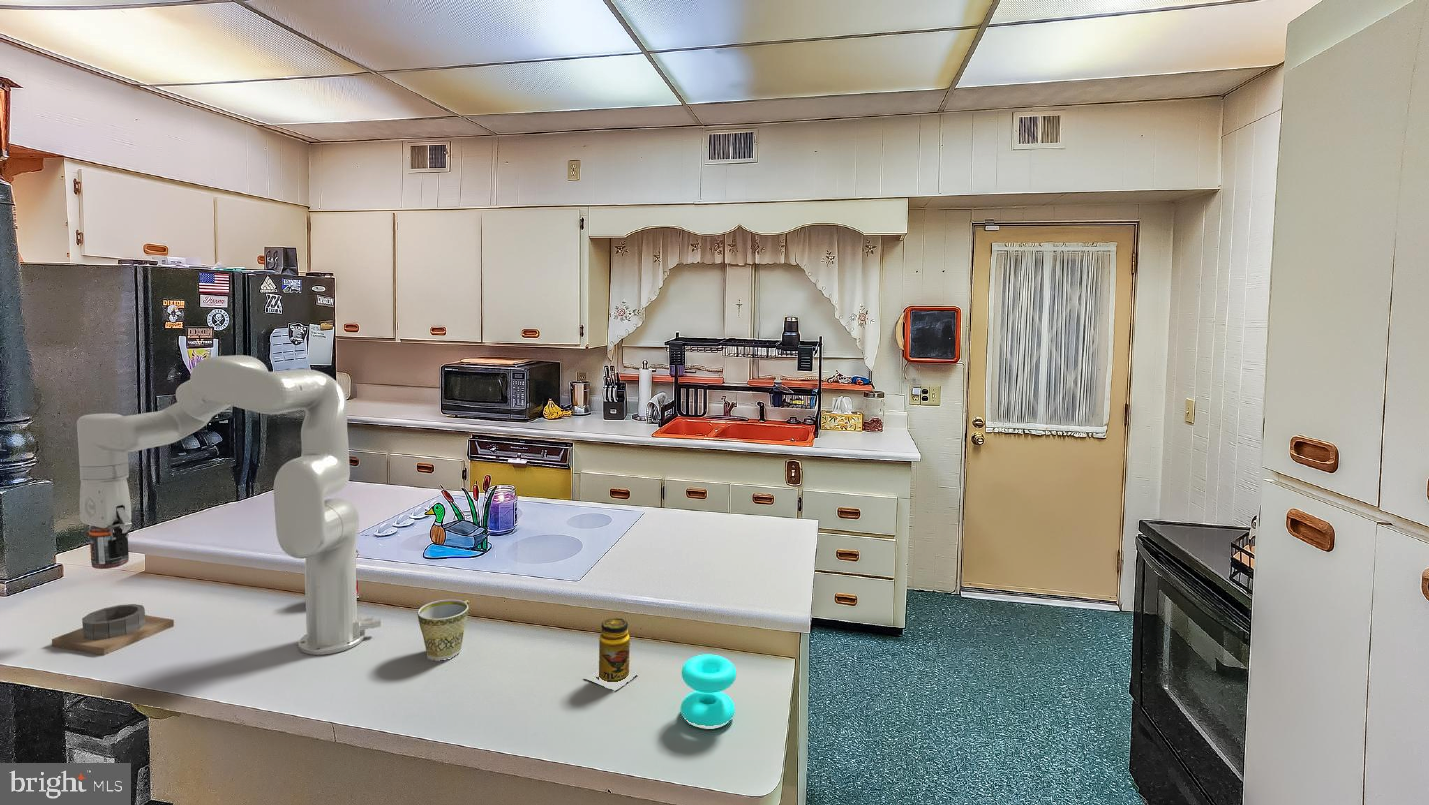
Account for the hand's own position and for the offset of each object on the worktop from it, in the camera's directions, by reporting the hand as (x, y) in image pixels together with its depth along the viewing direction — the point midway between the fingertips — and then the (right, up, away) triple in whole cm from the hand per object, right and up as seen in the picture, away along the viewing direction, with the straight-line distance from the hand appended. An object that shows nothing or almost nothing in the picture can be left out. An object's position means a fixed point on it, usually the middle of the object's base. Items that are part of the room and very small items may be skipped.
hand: (109, 553), depth 139 cm
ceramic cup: (+73, -21, 0) cm, 76 cm away
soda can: (+37, -18, +25) cm, 48 cm away
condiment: (+109, -23, -8) cm, 112 cm away
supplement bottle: (0, -3, 0) cm, 3 cm away
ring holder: (-1, -18, +2) cm, 19 cm away
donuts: (+129, -25, -20) cm, 133 cm away
